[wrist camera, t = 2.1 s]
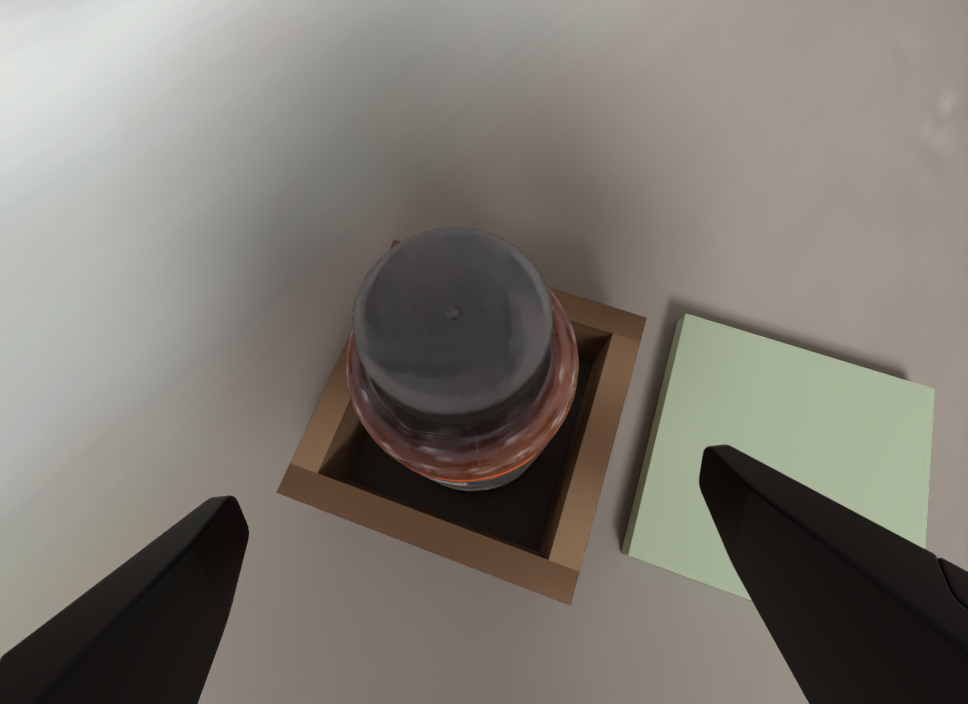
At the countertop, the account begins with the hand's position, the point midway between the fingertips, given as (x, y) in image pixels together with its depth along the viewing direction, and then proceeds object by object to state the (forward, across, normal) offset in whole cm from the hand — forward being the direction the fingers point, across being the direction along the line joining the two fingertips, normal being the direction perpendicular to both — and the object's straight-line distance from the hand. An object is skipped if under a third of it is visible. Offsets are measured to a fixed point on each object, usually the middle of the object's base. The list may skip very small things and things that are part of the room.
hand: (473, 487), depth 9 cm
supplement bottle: (+10, 0, +5) cm, 11 cm away
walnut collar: (+10, 0, +5) cm, 11 cm away
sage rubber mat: (+7, -12, +7) cm, 16 cm away
